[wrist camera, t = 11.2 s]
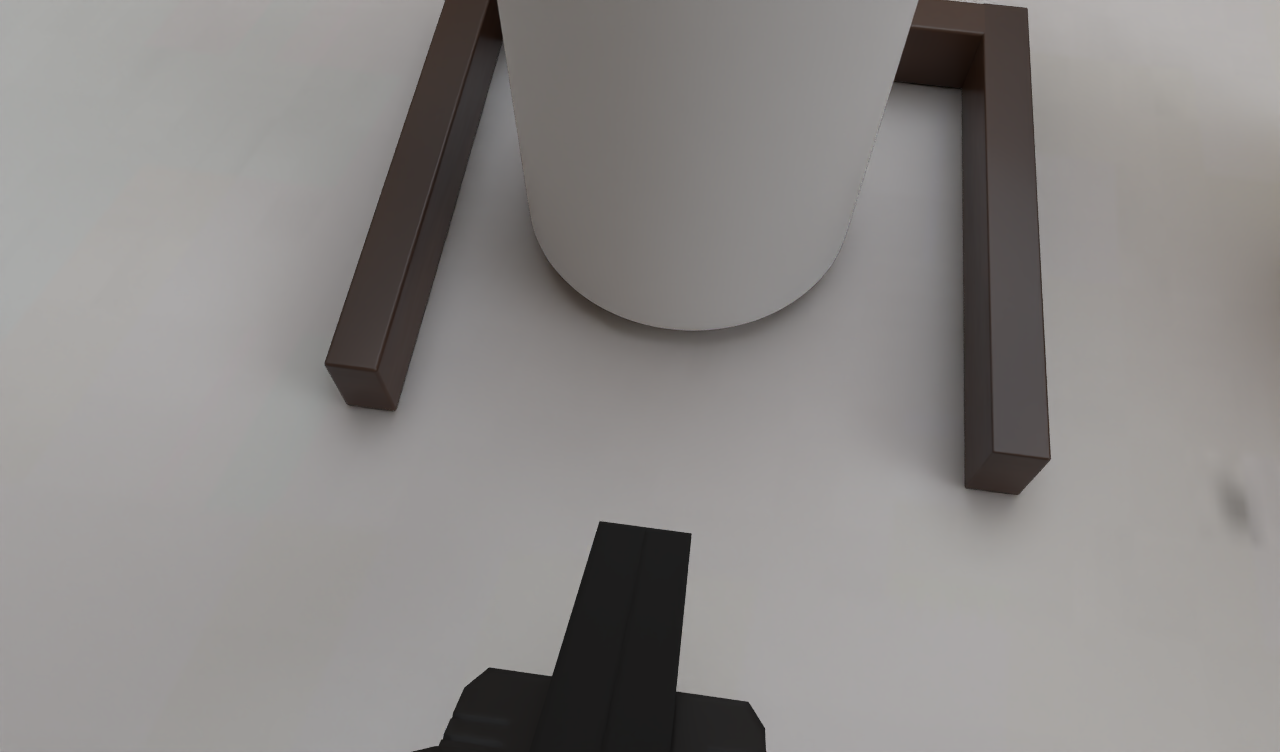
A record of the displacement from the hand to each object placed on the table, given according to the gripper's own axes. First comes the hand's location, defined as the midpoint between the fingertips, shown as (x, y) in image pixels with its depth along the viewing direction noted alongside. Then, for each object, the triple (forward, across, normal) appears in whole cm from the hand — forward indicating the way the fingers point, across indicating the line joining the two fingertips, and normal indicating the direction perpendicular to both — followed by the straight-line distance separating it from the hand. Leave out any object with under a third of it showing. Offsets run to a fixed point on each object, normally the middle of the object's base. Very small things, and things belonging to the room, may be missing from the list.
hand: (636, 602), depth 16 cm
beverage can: (+12, 0, +5) cm, 13 cm away
